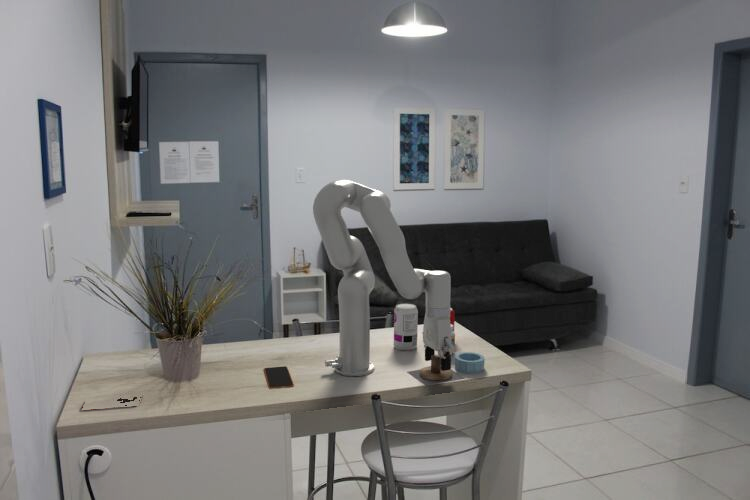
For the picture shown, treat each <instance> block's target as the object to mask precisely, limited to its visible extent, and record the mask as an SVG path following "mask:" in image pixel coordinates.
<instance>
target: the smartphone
mask: <svg viewBox="0 0 750 500" xmlns="http://www.w3.org/2000/svg"><path fill="white" fill-rule="evenodd" d="M263 372H265V373H264V376H265V379H267V380H266V383H267V385H268V386H269V387H268V389H269V388H277V389H282V388H281V387H287V388H293V386H294V387H295V385H294V382H293V378H292V376H291V374H290V370H289V368H288V366H285V365H284V366H283V365H282V366H274V367H263Z"/></svg>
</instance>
